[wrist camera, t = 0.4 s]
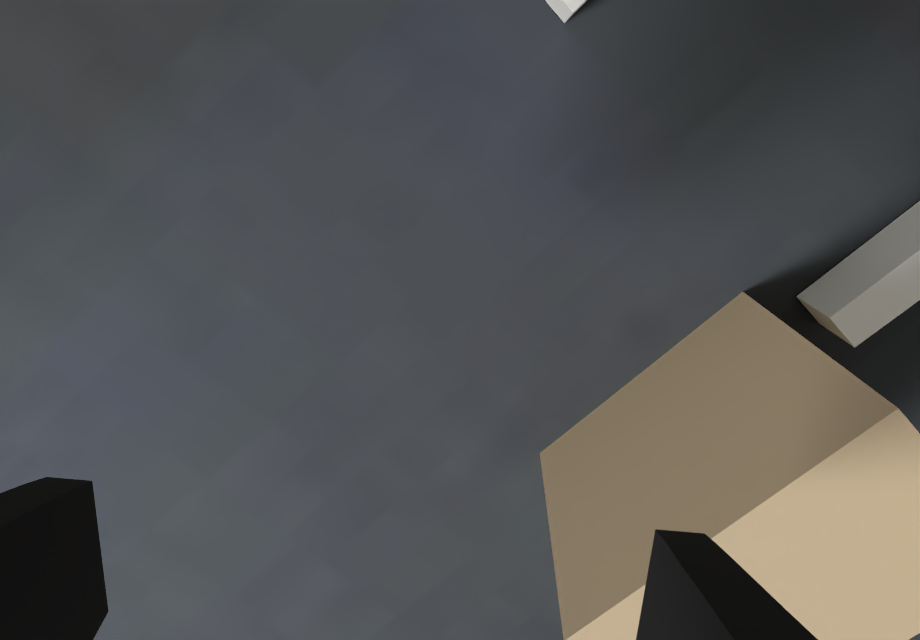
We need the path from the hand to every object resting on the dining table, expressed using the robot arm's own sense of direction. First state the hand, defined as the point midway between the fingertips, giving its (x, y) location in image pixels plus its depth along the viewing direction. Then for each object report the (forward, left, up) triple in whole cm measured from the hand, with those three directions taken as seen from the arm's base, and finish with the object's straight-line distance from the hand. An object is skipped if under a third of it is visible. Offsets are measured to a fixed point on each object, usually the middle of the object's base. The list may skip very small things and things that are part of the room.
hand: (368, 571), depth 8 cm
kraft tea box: (-7, -3, -10) cm, 12 cm away
